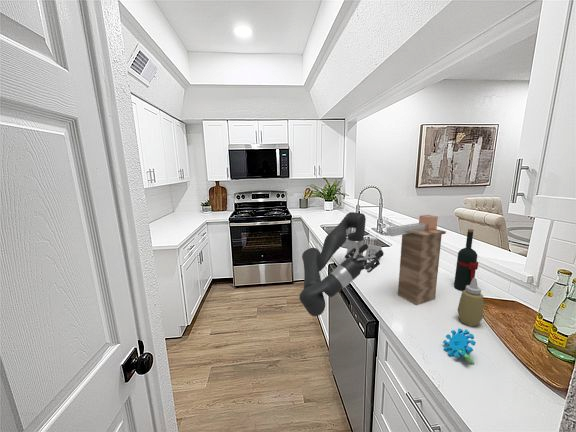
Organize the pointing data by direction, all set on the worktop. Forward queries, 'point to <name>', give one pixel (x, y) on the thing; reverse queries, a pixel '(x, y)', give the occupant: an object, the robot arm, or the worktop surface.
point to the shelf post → (419, 266)
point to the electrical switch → (372, 250)
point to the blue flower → (460, 344)
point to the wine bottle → (466, 264)
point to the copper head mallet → (415, 226)
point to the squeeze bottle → (471, 305)
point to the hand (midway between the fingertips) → (374, 248)
